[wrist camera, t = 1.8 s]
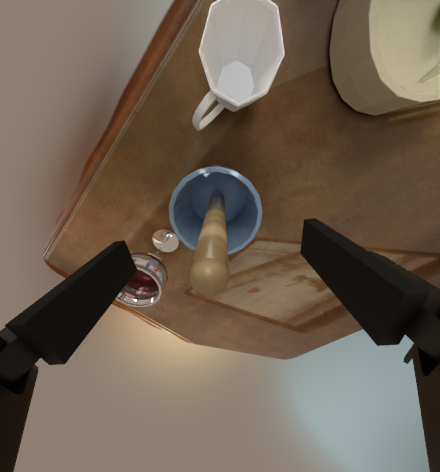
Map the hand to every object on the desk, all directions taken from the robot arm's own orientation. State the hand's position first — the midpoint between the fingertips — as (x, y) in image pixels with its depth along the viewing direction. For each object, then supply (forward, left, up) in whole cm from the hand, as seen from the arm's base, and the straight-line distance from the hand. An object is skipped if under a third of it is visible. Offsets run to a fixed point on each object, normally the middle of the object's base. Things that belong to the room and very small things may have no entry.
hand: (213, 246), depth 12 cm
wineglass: (+7, -11, -16) cm, 21 cm away
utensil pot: (0, 0, -16) cm, 16 cm away
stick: (0, 0, -15) cm, 15 cm away
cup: (-12, +3, -16) cm, 21 cm away
